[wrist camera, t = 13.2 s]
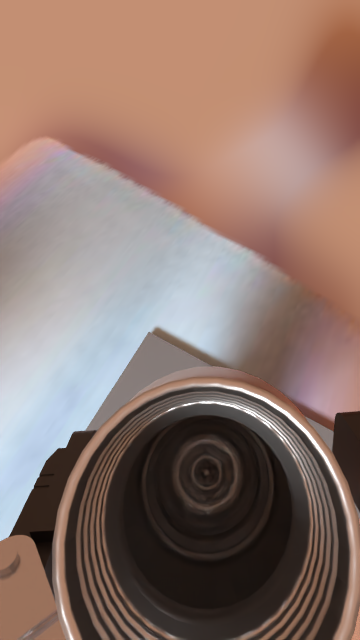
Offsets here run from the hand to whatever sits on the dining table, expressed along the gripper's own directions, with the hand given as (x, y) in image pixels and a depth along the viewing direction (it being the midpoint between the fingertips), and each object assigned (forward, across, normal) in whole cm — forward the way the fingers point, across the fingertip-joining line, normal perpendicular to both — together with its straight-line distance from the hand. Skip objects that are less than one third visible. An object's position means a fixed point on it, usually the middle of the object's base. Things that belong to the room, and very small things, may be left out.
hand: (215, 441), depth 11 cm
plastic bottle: (+8, 0, +10) cm, 13 cm away
